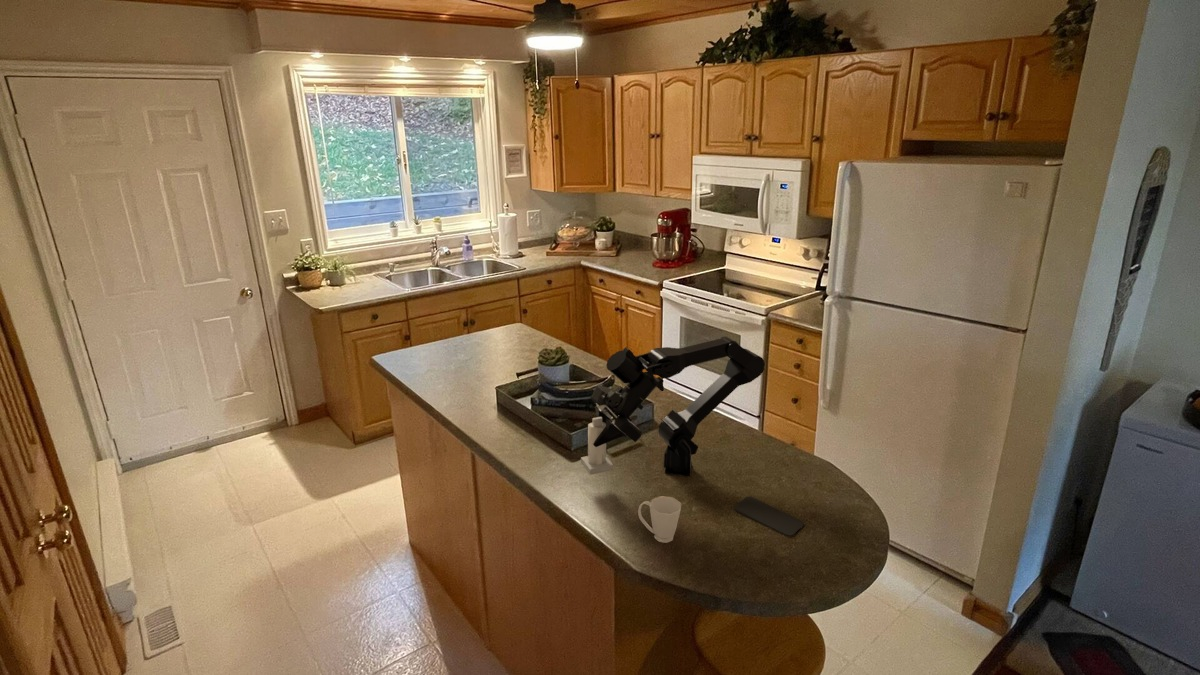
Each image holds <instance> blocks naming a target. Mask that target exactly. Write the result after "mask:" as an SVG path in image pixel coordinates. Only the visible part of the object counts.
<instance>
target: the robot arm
mask: <svg viewBox="0 0 1200 675" xmlns="http://www.w3.org/2000/svg"><path fill="white" fill-rule="evenodd" d="M726 357H727V358H728V360H727V363H726V366H725V369H724V371H723V373H722V374H721V375H719V377H718V378H717V379H715V381H714V382H713V383H712V384H710V386H708V387H707V388H706V389H705V390H704V391H703V392H702V393H701V394H700V395H699V396H698V397H696V398H695V400H693V401H692V402H691V404H689V405H688V406H687V407H686V408H685V409H684V410H682V411H678V412H677V411H676V410H675V409H672V410H671V411H670V412H668V414H667V415H666V416H664V417H663V418H661V422H660V424H659V425H658V431H657V433H658V436H659V437H660V438H661V439H662V440H663V442H664V443H666V445H667V447H666V448H665V449H664V454H663V468H664V473H665V474H666V475H667V474H668V475H675V476H683V477H690V476H691V473H692V467H693V466H692V465H693V463H692V457H693V455H695V454H697V452H698V449H699V446H698V444H696V443H695V442H694V441H693V438H694V437H695V435H696V432H697V429H698V426H699V424H700V423H702V422H703V420H704V419H706V418H707V417H708V416H709V415H710V414H711V413H712V412H713V411H714V410H715V409H716V408H717V407H718V406H720V404H721V403H722V402H724V401H725V399H727V398H728V397H729V396H730V395H731V394H733V392H734V391H735V390H736V389H737V388H738V387H740V386H744V385H746V384H749V383H752V382H753V381H755V380H756V379H757V378H759V377H761V375H762V374H763V373H764V371H765V365H766V364H765V360H764V358H763V357H762V356H760V355H758V354H757V353H755V352H752V351H751V350H749V349H747V348H744V347H742V346H741V345H740V344H739V343H738V342H737V341H736V340H734V339H732V338H731V337H728V336H722V337H719V338H717V339H713V340H708V341H706V342H705V341H704V342H701V343H696V344H693V345H689V346H684V347H677V348H676V347H670V346H669V347H668V346H667V347H666V346H665V347H655V348H652V349H651V350H650V351H649V352H646V353H642V354H639V355H635V354H634V352H633V351H632V350H630V349H629V348H628V346H627V347H624V348H623V349H622V350H618V351H617V352H615V353H613V354H611V355H610V357H609V358H608V359H607V362H606V364H605V365H606V369H607V370H608V371H609V372H610V373H611V374H612V375H613V376H615V377H616V378H617V379H618V380H619V381H621V383H623V384H626V385H625V386H624V387H622V386H618V387H617V388H616V389H613V388H610V387H607V386H603V385H600V384H596V387H595V389H594V391H593V393H592V395H591V396H590V397H589V399H590V400H591V401H593V403H595V404H596V405H598V406H596V405H595V406H594V409H595V414H596V417H602V422H604V423H606V427H605V428H604V429H603V431H602V432H601V433H600V435H599V436H598V437H597V439H596V440H595V442H594V443H593V445H594V446H595V447H598V446H600V445H603V444H605V443H606V444H607V443H609V442H611V441H613V440H617V439H619V438H623V437H624V438H629V439H630V440H632V441H633V442H634V443H637V442H638V441H639V439H640V438H642V431H641V430H640V429H639V427H638V426H636V425H635V424H634V423H633V422H632V421H633V419H632V418H631V417H632V415H633V414H634V413H636V411H637V410H638V409H639V410H640V411H642V410H643V409H644V405H643V404H642V403H644V402H645V401H646V399H647V398H648V397H649V396H650V395H651V394H652V393H653V391H655V389H656V388H657V389H658V390H659V391H660V392H664V390H665V388H664V381H665V380H664V379H669V378H672V377H674V376H677V375H679V374H680V373H681V372H683V370H685V369H686V368H688V367H691V366H695V365H699V364H702V363H706V362H710V361H715V360H719V359H722V358H726ZM644 370H645V371H644ZM656 376H658V377H656ZM596 417H595V418H596ZM612 418H613V419H612Z"/></svg>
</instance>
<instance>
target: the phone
mask: <svg viewBox="0 0 1200 675" xmlns="http://www.w3.org/2000/svg"><path fill="white" fill-rule="evenodd" d="M733 510H734V512H736V513H738V514H740V515H742V516H744V517H746V518H748V519H750V520H752V521H754V522H756V523H758V522H759V523H758V524H760V525H762V524H763V525H762V526H764V525H765V526H764V527H766V526H767V527H766V528H768V527H770V528H772V529H774V530H776V531H775V532H777V531H778V532H777V533H779V532H780V533H779V534H781V533H782V534H781V535H783V534H784V535H783V536H785V535H786V536H785V537H787V536H792V537H794V536H795V535H796V534H797V533H798V532H799V531H800V530H801V529H802V528H801V527H803V525H804V523H805V521H804V520H802V519H800V518H797V517H796V516H793V515H792V514H790V513H787V512H785V511H783V510H780V509H779V508H777V507H774V506H772V505H770V504H769V503H766V502H764V501H762V500H759V499H758V498H755V497H754V496H745V497H744V498H743V499H741V501H739V502H737V503H736V504H735V505H734V506H733ZM804 526H805V525H804ZM770 528H769V529H770ZM800 528H801V529H800ZM803 528H804V527H803ZM772 529H771V530H772ZM799 529H800V530H799ZM774 530H773V531H774ZM798 530H799V531H798ZM797 531H798V532H797ZM796 532H797V533H796ZM795 533H796V534H795ZM794 534H795V535H794ZM793 535H794V536H793Z"/></svg>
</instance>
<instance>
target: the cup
mask: <svg viewBox="0 0 1200 675" xmlns="http://www.w3.org/2000/svg"><path fill="white" fill-rule="evenodd" d="M643 505H646V506H649V511H650V520H651V526H652V527H651V526H650V525H649V524H648V522H647V521H646V520H645V518H644V517H643V515H642V507H643ZM681 509H682V502H680V501H679V500H677V499H676V498H675V497H673V496H664V495H660V496H656V497H655V498H652V499H650V501H649V500H644V501H643V502H641V504H639V507H638V509H637V513H638V514H637V515H638V518H639V520H640V522H641V523H642V524H643V526H645V527H646V529H647V530H648V531H650V532H651V533H652V534H654V536H653V538H654V539H655V540H656V541H658V542H659V543H664V544H665V543H666V544H667V543H671V542H673V540H674V535H675V533H676V531H677V527H678V523H679V518H680V515H681V514H680V513H681V511H682V510H681Z"/></svg>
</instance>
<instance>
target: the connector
mask: <svg viewBox="0 0 1200 675" xmlns="http://www.w3.org/2000/svg"><path fill="white" fill-rule="evenodd" d="M591 419H592V420H591V421H592V422H590V423H588V424H587V455H586V456H582V457H580V464H581V465H582V466H583V468H584V469H585V470H586V472H587V473H588V475H590V476H591V475H597V474H600V473H606V472H610V471H614V464H613V463H612V461H611V460H610V459H609V457H608V456H607V443H605V444H603V445H600V446H598V447H595V446H594V445H593V443H594V442H595V440H596V439H597V437H598V436H599V435H600V433H601V432H602V431H603V429H604V428H605V427H606V423H604V422H602V417H593V418H591Z"/></svg>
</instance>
